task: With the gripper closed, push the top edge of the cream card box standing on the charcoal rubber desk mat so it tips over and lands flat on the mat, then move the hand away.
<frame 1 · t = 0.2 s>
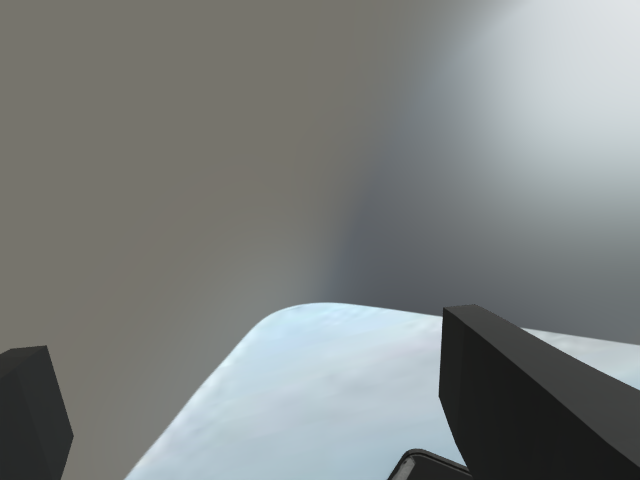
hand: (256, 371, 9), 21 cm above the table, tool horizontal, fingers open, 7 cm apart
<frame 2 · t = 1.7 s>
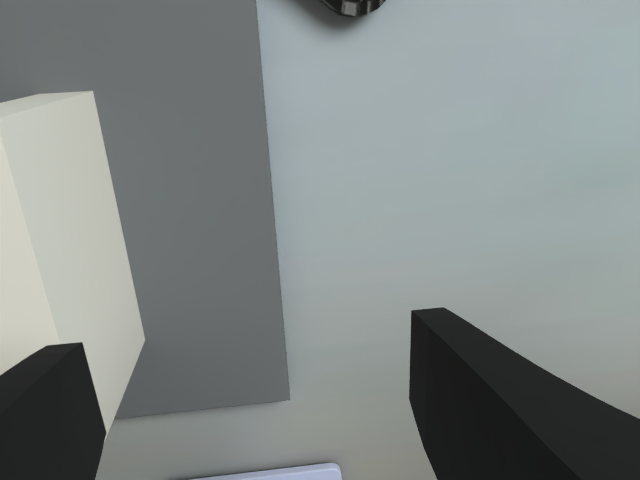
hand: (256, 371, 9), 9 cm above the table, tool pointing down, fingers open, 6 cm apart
card box: (97, 229, 17), point 1 cm above the table, touching desk mat
desk mat: (73, 226, 17), on the table
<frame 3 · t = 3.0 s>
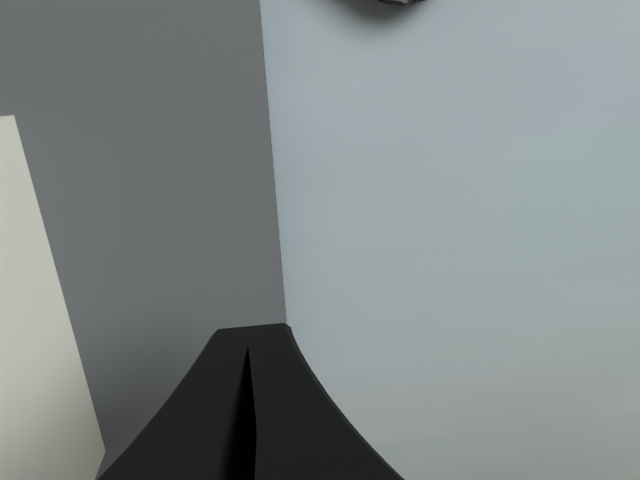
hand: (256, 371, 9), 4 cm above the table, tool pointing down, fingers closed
card box: (31, 310, 12), point 1 cm above the table, touching desk mat
desk mat: (0, 301, 12), on the table
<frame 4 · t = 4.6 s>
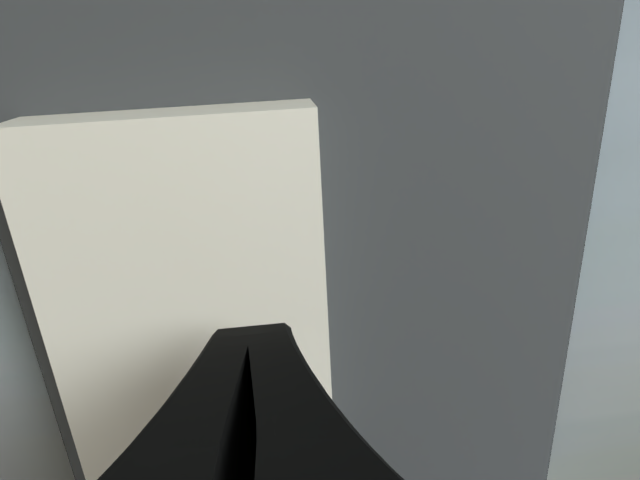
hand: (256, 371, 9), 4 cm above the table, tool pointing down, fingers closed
card box: (324, 300, 12), point 1 cm above the table, tilted 90°, touching desk mat
desk mat: (312, 274, 13), on the table
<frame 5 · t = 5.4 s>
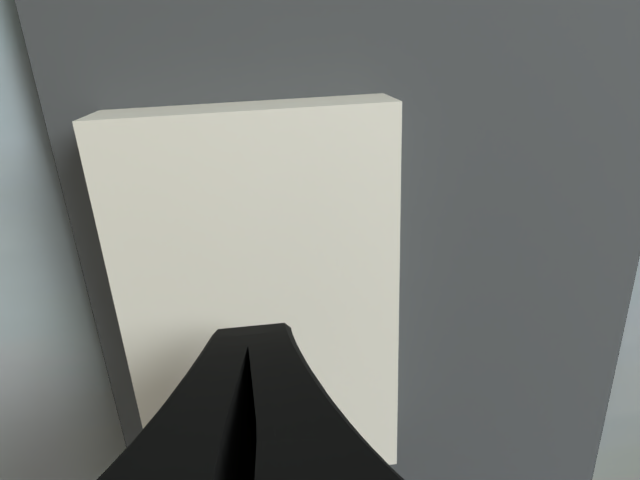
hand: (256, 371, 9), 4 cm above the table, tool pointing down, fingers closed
card box: (390, 293, 12), point 1 cm above the table, tilted 90°, touching desk mat
desk mat: (372, 268, 13), on the table
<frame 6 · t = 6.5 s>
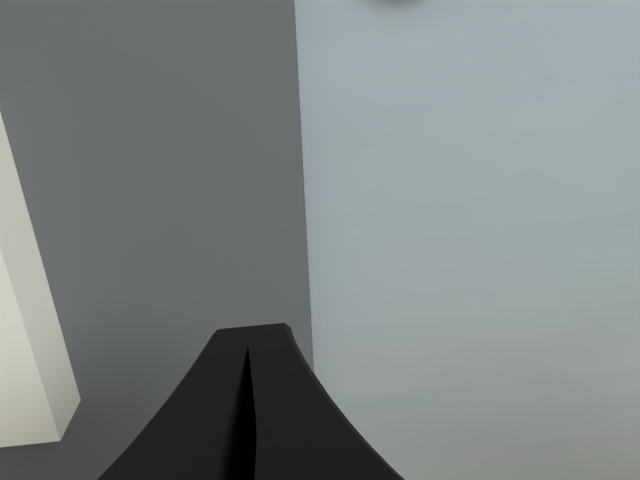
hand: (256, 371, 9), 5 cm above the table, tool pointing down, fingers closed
card box: (28, 274, 12), point 1 cm above the table, tilted 90°, touching desk mat
desk mat: (45, 251, 13), on the table
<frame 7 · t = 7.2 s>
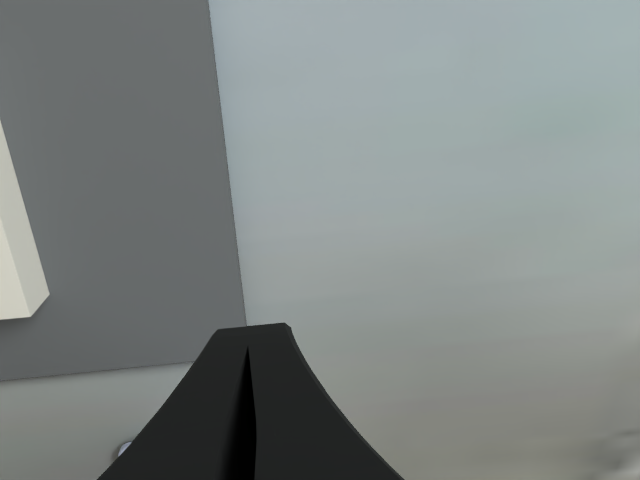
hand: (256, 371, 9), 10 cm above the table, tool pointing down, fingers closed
card box: (3, 180, 16), point 1 cm above the table, tilted 90°, touching desk mat
desk mat: (19, 169, 17), on the table
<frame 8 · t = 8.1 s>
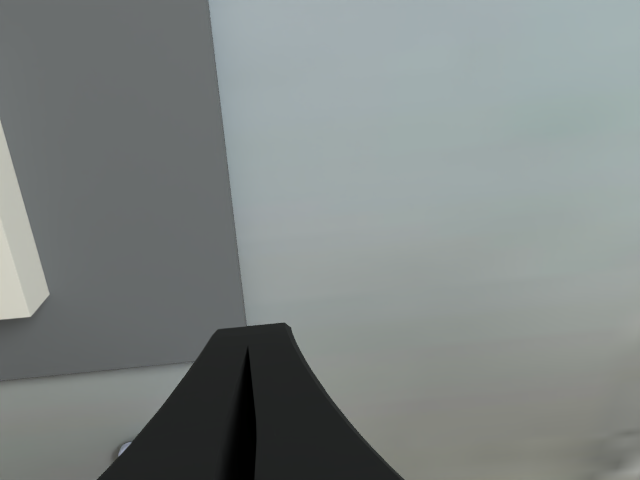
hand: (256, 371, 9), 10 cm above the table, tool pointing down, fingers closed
card box: (3, 180, 16), point 1 cm above the table, tilted 90°, touching desk mat
desk mat: (19, 169, 17), on the table
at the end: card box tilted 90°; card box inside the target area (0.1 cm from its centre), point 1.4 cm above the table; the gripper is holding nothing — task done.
